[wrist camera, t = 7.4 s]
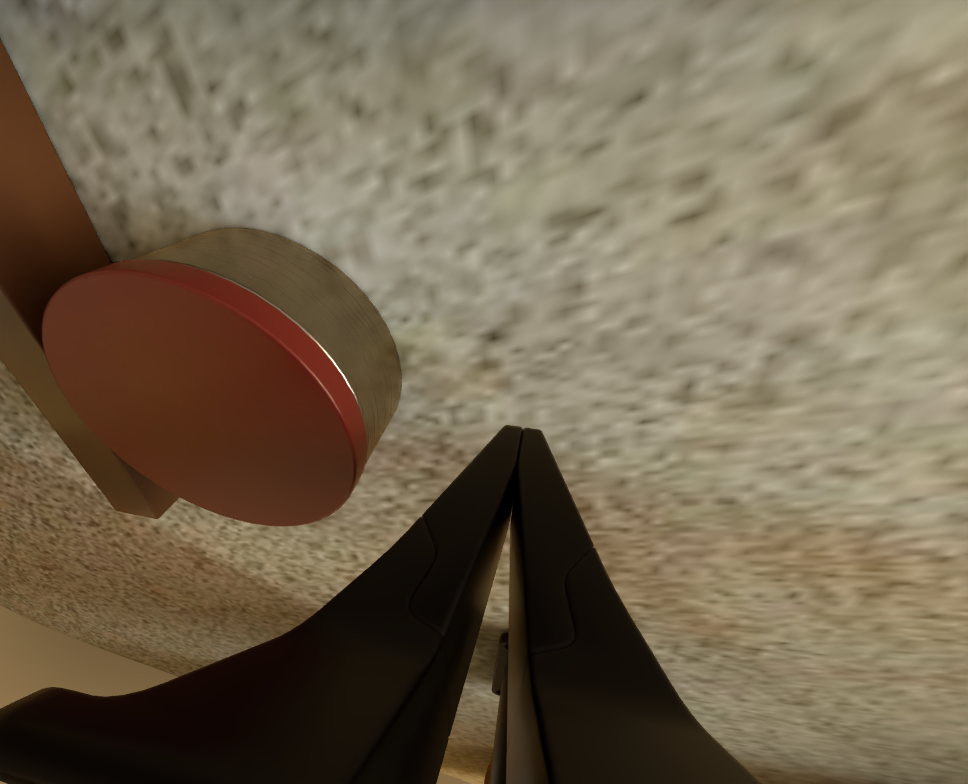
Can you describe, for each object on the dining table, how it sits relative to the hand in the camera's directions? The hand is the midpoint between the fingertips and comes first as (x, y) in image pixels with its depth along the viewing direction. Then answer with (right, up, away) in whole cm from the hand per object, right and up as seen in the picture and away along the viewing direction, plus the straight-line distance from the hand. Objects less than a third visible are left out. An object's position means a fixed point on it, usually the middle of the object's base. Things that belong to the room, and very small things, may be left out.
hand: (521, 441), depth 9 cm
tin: (-7, +2, +2) cm, 7 cm away
